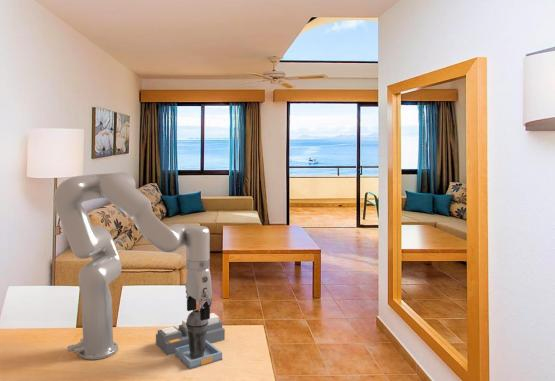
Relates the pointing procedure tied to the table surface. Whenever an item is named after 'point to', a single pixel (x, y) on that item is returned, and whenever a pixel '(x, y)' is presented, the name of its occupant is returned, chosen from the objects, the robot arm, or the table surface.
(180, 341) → the grey switch block
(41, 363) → the table surface
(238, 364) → the table surface
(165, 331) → the block
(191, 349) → the beverage cup
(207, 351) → the tray
